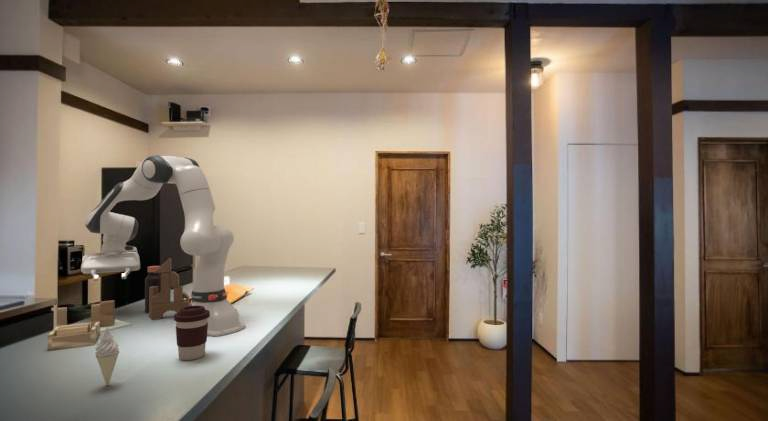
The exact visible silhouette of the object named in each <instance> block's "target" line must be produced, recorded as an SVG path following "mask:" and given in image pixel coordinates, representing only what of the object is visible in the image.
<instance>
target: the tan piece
mask: <svg viewBox="0 0 768 421" xmlns="http://www.w3.org/2000/svg"><path fill="white" fill-rule="evenodd" d="M67 315H68V307H57V308H56V326H55V327H54V328H53V329H52V330H51V331H50V332H49V333H48V334H47V351H48V352H49V351H57V350H63V349H64V350H65V349H71V348H79V347H86V346H94V345H95V344H96V342H97V340H98V339H99V338H100V336H101V332H100V304H99V303H97V304H91V305H90V317H91V318H90V322H84V323H75V324H74V323H73V324H68V316H67ZM90 325H91V327H90Z"/></svg>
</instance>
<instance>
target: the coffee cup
mask: <svg viewBox="0 0 768 421" xmlns="http://www.w3.org/2000/svg"><path fill="white" fill-rule="evenodd" d="M209 316H210V311H209V310H205V308H204V306H199V305H195V306H191V305H190V306H187V307H183V308H181V309H180V310H179V312H178V313H177V312H175V313H174V314H173V321H174V322H176V323H175V324H176V326H175V335H176V336H175V337H176V346H177V352H178V359H179V360H182V361H193V360H197V359H201V358H202V357H203V356H204V357H205V353H206V347H207V346H206V344H207V340H208V335H207V329H208V322H207V319H208V317H209Z"/></svg>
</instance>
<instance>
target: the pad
mask: <svg viewBox="0 0 768 421" xmlns="http://www.w3.org/2000/svg"><path fill="white" fill-rule="evenodd" d="M129 325H130V326H132V323H129V322H126V321H123V320H121V319H116V318H115V323H114V325H113V326H109V327H108V329H109V331H111V330H116V328H117V329H121V328H125V327H130V326H129ZM90 327H91V324H90ZM120 327H121V328H120ZM106 328H107V327H100V333H103V332H104V333H105V331H106Z"/></svg>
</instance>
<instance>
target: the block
mask: <svg viewBox="0 0 768 421" xmlns="http://www.w3.org/2000/svg"><path fill="white" fill-rule="evenodd" d="M98 304H100V327H109V326H113V325H114V323H115V319H116V317H115V314H116V310H115V308H116V307H115V306H116V303H115V300H113V299H112V300H104V301H100V302H99V303H98Z"/></svg>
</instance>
